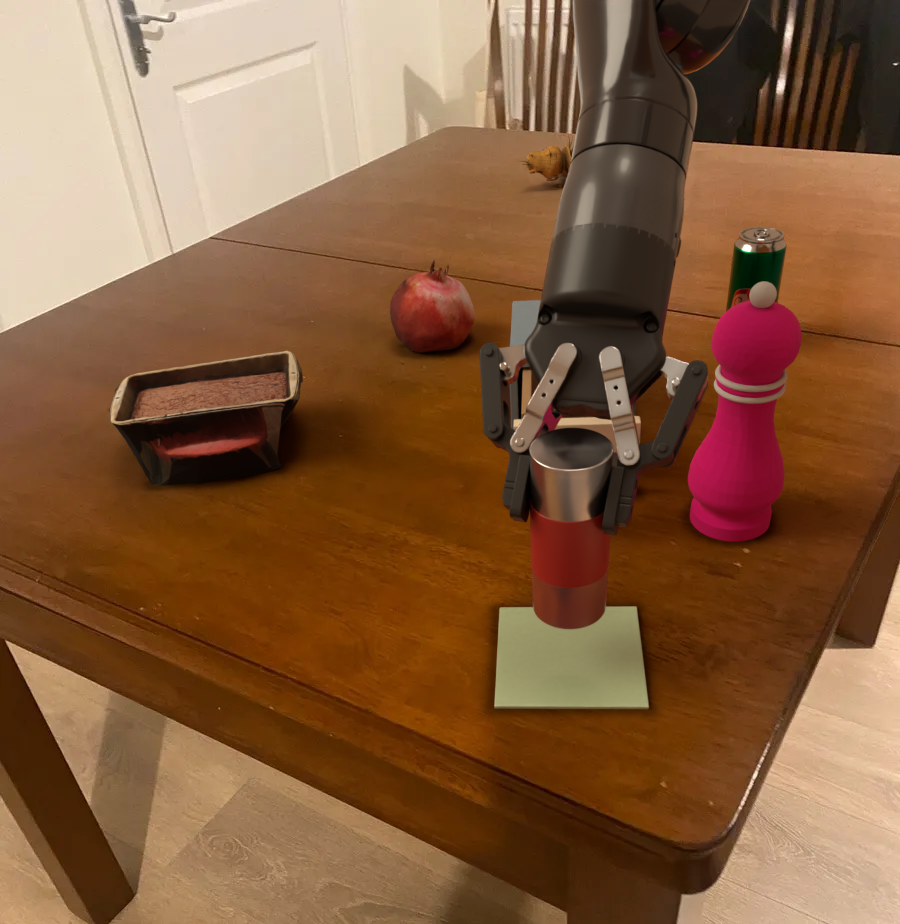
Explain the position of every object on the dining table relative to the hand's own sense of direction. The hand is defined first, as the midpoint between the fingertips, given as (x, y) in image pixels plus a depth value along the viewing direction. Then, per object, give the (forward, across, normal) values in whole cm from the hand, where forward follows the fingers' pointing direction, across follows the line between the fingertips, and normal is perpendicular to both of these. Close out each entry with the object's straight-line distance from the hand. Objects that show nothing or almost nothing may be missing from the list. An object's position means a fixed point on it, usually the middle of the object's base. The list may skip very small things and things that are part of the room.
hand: (563, 524), depth 54 cm
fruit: (-25, -27, +43) cm, 57 cm away
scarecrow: (-67, -24, +86) cm, 112 cm away
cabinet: (-17, -8, +36) cm, 40 cm away
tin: (+4, 0, +7) cm, 8 cm away
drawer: (-9, -5, +26) cm, 28 cm away
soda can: (-29, +7, +47) cm, 56 cm away
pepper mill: (-5, +9, +24) cm, 26 cm away
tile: (+8, 0, +10) cm, 13 cm away
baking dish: (-6, -39, +25) cm, 47 cm away
